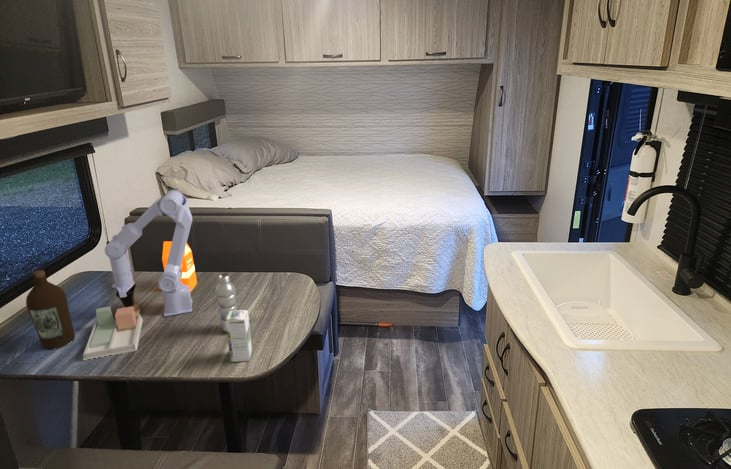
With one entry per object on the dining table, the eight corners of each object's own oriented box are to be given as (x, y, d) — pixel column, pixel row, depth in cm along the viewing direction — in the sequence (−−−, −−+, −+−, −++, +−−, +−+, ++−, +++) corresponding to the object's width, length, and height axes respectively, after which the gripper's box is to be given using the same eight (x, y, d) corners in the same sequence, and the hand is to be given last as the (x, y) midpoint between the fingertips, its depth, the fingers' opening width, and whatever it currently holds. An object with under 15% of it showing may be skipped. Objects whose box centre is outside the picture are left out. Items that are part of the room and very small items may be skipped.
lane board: (95, 327, 162) (93, 322, 161) (142, 319, 167) (141, 314, 166) (83, 360, 144) (81, 354, 144) (136, 350, 149) (135, 344, 148)
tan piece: (123, 311, 170) (119, 295, 168) (140, 309, 172) (136, 293, 170) (117, 331, 158) (113, 314, 156) (136, 328, 160) (132, 311, 157)
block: (136, 318, 164) (133, 306, 162) (134, 326, 159) (131, 313, 157) (120, 321, 162) (117, 308, 160) (118, 329, 158) (115, 315, 156)
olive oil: (46, 335, 158) (25, 267, 150) (81, 330, 161) (62, 263, 152) (34, 353, 149) (11, 282, 140) (72, 347, 151) (51, 277, 143)
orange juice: (190, 292, 185) (182, 244, 178) (168, 292, 186) (158, 245, 178) (197, 283, 193) (189, 237, 186) (175, 283, 193) (167, 237, 186)
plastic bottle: (245, 325, 161) (238, 272, 154) (233, 336, 155) (225, 281, 148) (228, 322, 163) (221, 270, 156) (217, 333, 157) (208, 278, 150)
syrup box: (233, 351, 147) (227, 310, 142) (253, 350, 148) (247, 309, 142) (230, 362, 142) (224, 320, 137) (250, 361, 142) (244, 319, 137)
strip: (98, 325, 162) (94, 309, 160) (116, 322, 164) (112, 306, 161) (90, 347, 149) (86, 330, 147) (110, 344, 151) (106, 326, 149)
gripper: (112, 265, 170) (120, 299, 174) (106, 282, 157) (114, 318, 162) (134, 262, 172) (141, 295, 176) (129, 279, 159) (137, 314, 164)
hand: (130, 306), depth 169 cm, fingers closed on tan piece, 3 cm apart
